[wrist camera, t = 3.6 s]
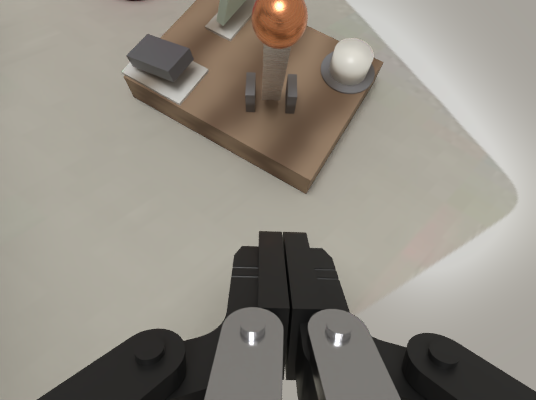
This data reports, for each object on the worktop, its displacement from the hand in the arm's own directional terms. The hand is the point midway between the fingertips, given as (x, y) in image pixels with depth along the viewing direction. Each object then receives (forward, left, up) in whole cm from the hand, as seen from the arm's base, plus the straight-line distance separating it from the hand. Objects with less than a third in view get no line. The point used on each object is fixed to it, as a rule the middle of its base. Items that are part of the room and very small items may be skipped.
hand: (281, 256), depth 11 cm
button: (-4, +22, -15) cm, 27 cm away
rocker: (-19, +13, -14) cm, 27 cm away
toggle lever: (-9, +15, -14) cm, 22 cm away
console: (-12, +18, -18) cm, 28 cm away
